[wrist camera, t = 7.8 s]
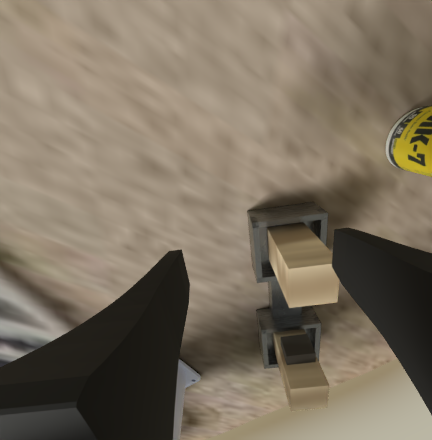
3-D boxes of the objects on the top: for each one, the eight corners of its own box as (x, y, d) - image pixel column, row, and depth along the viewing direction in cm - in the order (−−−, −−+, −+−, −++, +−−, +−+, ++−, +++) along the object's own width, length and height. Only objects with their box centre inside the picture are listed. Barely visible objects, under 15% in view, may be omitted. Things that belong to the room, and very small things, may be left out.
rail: (308, 340, 27) (318, 362, 25) (259, 346, 27) (264, 368, 25) (313, 201, 20) (328, 212, 17) (247, 210, 20) (252, 223, 18)
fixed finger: (302, 345, 25) (327, 407, 20) (273, 348, 25) (290, 411, 20) (302, 317, 23) (330, 376, 18) (272, 320, 24) (290, 380, 18)
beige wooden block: (266, 227, 19) (288, 268, 14) (304, 222, 19) (341, 262, 14) (269, 269, 21) (289, 320, 15) (303, 265, 21) (336, 315, 15)
